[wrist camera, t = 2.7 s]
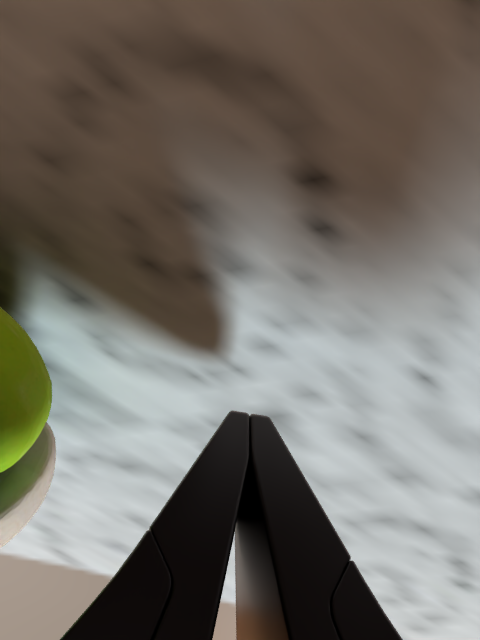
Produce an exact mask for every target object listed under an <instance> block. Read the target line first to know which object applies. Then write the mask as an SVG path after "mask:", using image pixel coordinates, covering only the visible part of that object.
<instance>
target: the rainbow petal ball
mask: <svg viewBox="0 0 480 640" xmlns="http://www.w3.org/2000/svg"><path fill="white" fill-rule="evenodd" d="M51 402H52V383H51V380H50V377H49V374H48V371H47V369H46V366H45V364H44V361H43V359H42V357H41V355H40V353H39V351H38V350H37V348H36V346H35V345H34V343H33V342H32V340H31V339H30V337H29V336H28V334H27V333H26V332H25V331H24V329H23V328H22V327H21V326H20V325H19V324H18V323H17V322H16V321H15V320H14V319H13V318H12V317H11V316H10V315H9V314H8V313H7V312H5V311H4V310H3V309H2V308H0V548H1V547H2V546H4V545H5V544H6V543H8V542H9V541H10V540H11V539H12V538H13V537H14V536H16V535H17V534H18V533H19V532H20V531H21V530H22V529H23V528H24V527H25V525H26V524H27V523H28V522H29V521H30V520H31V518H32V517H33V516H34V514H35V513H36V512H37V510H38V509H39V507H40V505H41V504H42V502H43V501H44V498H45V496H46V494H47V492H48V490H49V487H50V484H51V481H52V478H53V474H54V469H55V460H56V444H55V437H54V434H53V432H52V430H51V427H50V426H49V425H48V424H47V422H46V421H47V419H48V416H49V412H50V408H51Z"/></svg>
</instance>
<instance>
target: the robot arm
mask: <svg viewBox="0 0 480 640" xmlns="http://www.w3.org/2000/svg"><path fill="white" fill-rule="evenodd" d="M234 532H235V575H236V630H237V631H236V633H237V634H236V635H237V637H236V638H237V640H403V639H402V638H401V637H400V635H399V634H398V632H397V631H396V629H395V628H394V626H393V625H392V623H391V622H390V620H389V619H388V617H387V616H386V614H385V613H384V611H383V610H382V608H381V606H380V605H379V603H378V601H377V600H376V598H375V596H374V595H373V593H372V592H371V590H370V588H369V587H368V585H367V583H366V582H365V580H364V578H363V577H362V575H361V573H360V572H359V570H358V568H357V566H356V565H355V563H354V561H350V559H351V557H350V555H349V553H348V551H347V549H346V548H345V546H344V544H343V543H342V541H341V539H340V537H339V536H338V534H337V532H336V531H335V529H334V527H333V525H332V524H331V522H330V520H329V519H328V517H327V515H326V513H325V512H324V510H323V508H322V506H321V505H320V503H319V501H318V500H317V498H316V496H315V494H314V493H313V491H312V489H311V488H310V486H309V484H308V482H307V481H306V479H305V477H304V476H303V474H302V472H301V470H300V469H299V467H298V465H297V464H296V462H295V460H294V458H293V457H292V455H291V453H290V452H289V450H288V448H287V446H286V445H285V443H284V441H283V439H282V438H281V436H280V434H279V433H278V431H277V429H276V427H275V426H274V424H273V422H272V421H271V419H270V418H269V417H268V416H263V415H257V414H251V415H250V416H249V414H248V413H244V412H238V411H230V412H229V413H228V415H227V416H226V418H225V419H224V420H223V422H222V423H221V425H220V426H219V428H218V429H217V431H216V432H215V433H214V435H213V436H212V438H211V439H210V441H209V442H208V444H207V445H206V447H205V448H204V449H203V451H202V452H201V454H200V455H199V457H198V458H197V460H196V461H195V462H194V464H193V465H192V467H191V468H190V470H189V471H188V473H187V474H186V475H185V477H184V478H183V480H182V481H181V483H180V484H179V486H178V487H177V488H176V490H175V491H174V493H173V494H172V496H171V497H170V499H169V500H168V502H167V503H166V504H165V506H164V507H163V509H162V510H161V512H160V513H159V515H158V516H157V517H156V519H155V520H154V522H153V523H152V525H151V526H150V528H149V531H147V532H146V533H145V534H144V536H143V537H142V539H141V540H140V542H139V543H138V544H137V546H136V547H135V549H134V550H133V552H132V553H131V554H130V556H129V557H128V558H127V560H126V561H125V562H124V564H123V565H122V566H121V568H120V569H119V570H118V572H117V573H116V574H115V576H114V577H113V578H112V579H111V581H110V582H109V583H108V584H107V585H106V587H105V588H104V589H103V590H102V591H101V593H100V594H99V595H98V597H97V598H96V599H95V600H94V601H93V602H92V604H91V605H90V606H89V607H88V608H87V609H86V611H85V612H84V613H83V614H82V615H81V616H80V617H79V618H78V620H77V621H76V622H75V623H74V624H73V625H72V627H71V628H70V629H69V630H68V631H67V632H66V633H65V635H63V637H62V638H61V639H60V640H212V638H213V633H214V628H215V624H216V618H217V614H218V608H219V604H220V599H221V595H222V590H223V585H224V580H225V575H226V571H227V566H228V561H229V556H230V551H231V547H232V542H233V537H234Z"/></svg>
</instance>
